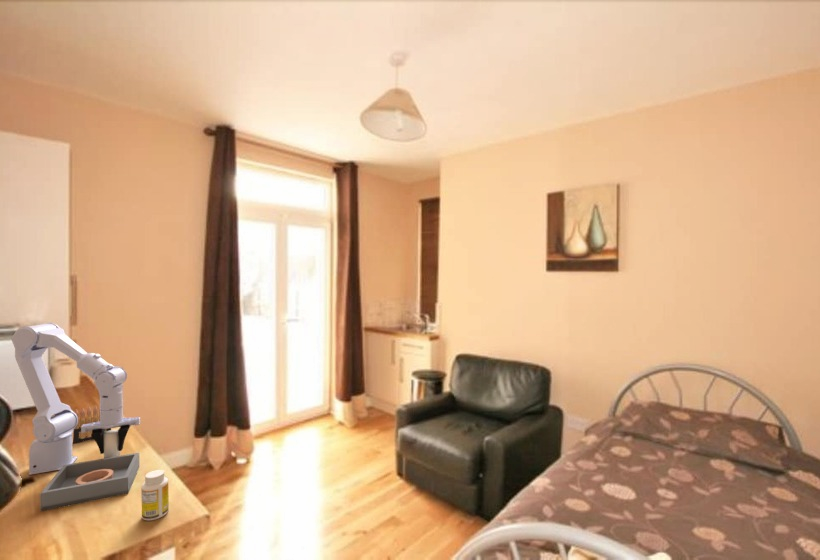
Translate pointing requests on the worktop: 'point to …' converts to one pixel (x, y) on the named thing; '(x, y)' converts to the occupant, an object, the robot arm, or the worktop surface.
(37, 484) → the worktop surface
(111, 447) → the peg
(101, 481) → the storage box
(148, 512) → the supplement bottle
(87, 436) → the ammunition clip
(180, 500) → the worktop surface
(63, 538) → the worktop surface
